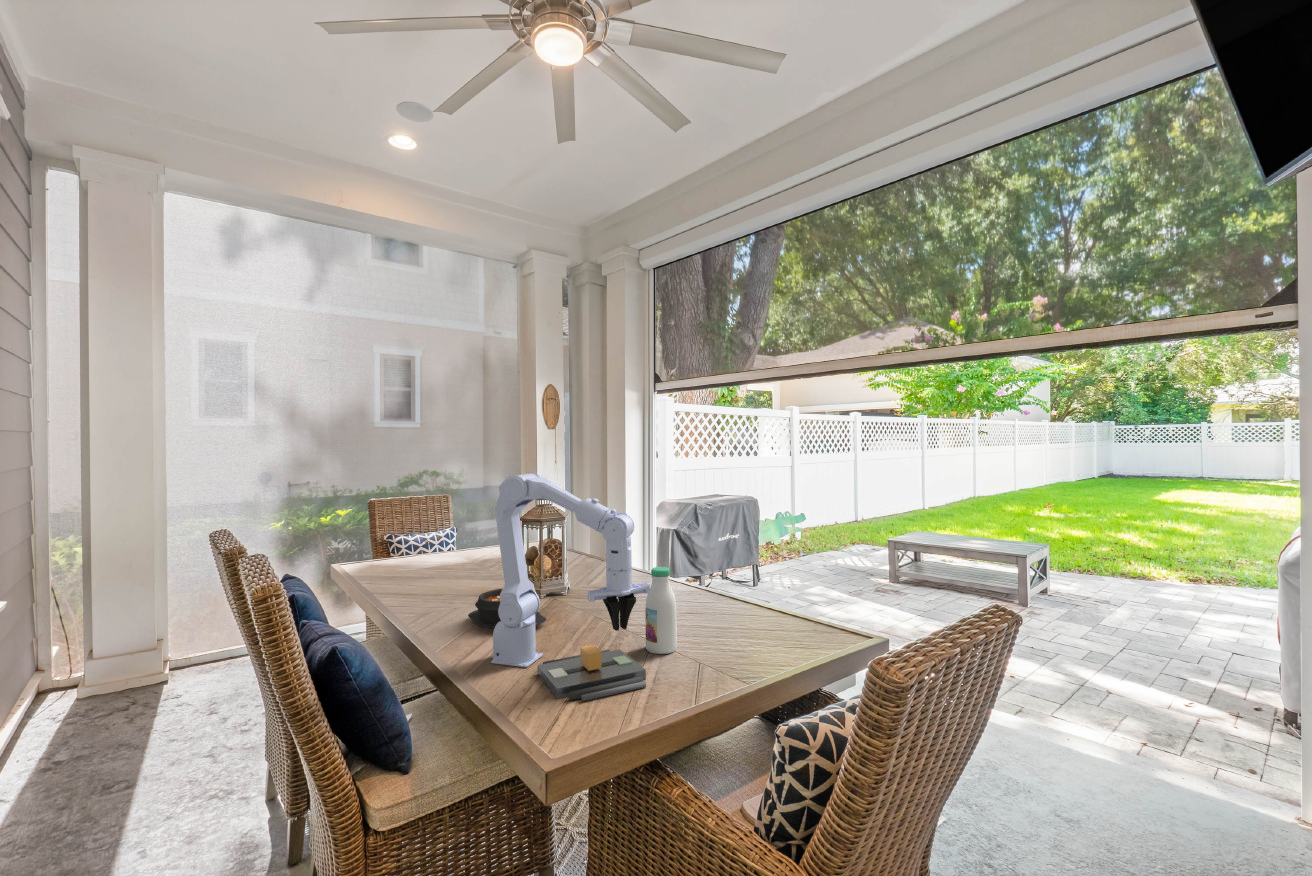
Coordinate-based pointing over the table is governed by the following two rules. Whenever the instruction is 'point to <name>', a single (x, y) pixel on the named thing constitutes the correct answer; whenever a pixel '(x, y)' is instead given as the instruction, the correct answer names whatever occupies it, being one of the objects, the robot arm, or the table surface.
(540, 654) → the robot arm
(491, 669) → the table surface
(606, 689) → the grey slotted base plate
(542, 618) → the casserole
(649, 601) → the milk bottle
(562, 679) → the grey flat slab
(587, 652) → the lever
